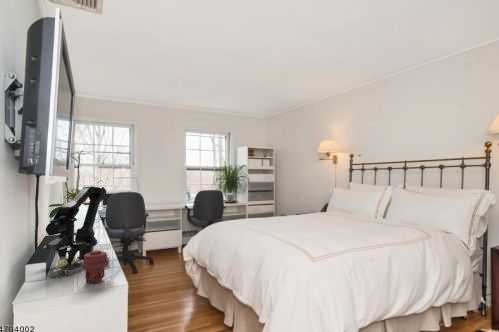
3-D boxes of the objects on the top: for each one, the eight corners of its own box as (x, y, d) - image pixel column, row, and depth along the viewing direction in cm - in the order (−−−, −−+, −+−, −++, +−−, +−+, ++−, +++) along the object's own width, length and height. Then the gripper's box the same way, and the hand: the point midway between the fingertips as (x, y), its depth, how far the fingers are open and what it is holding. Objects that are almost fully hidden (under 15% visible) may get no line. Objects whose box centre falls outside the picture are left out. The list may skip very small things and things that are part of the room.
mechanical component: (105, 284, 115) (77, 287, 112) (110, 276, 124) (85, 278, 122) (106, 253, 115) (78, 255, 113) (111, 247, 125) (85, 249, 122)
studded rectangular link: (75, 265, 139) (75, 259, 139) (90, 266, 137) (90, 260, 137) (45, 276, 124) (45, 269, 124) (62, 278, 122) (62, 271, 122)
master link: (69, 263, 143) (69, 253, 143) (75, 263, 142) (75, 254, 142) (57, 267, 136) (57, 257, 136) (63, 268, 135) (63, 258, 135)
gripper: (36, 233, 134) (35, 267, 133) (69, 235, 130) (68, 270, 129) (56, 229, 145) (55, 260, 144) (88, 231, 141) (87, 263, 140)
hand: (66, 263), depth 139 cm, fingers closed on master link, 4 cm apart
